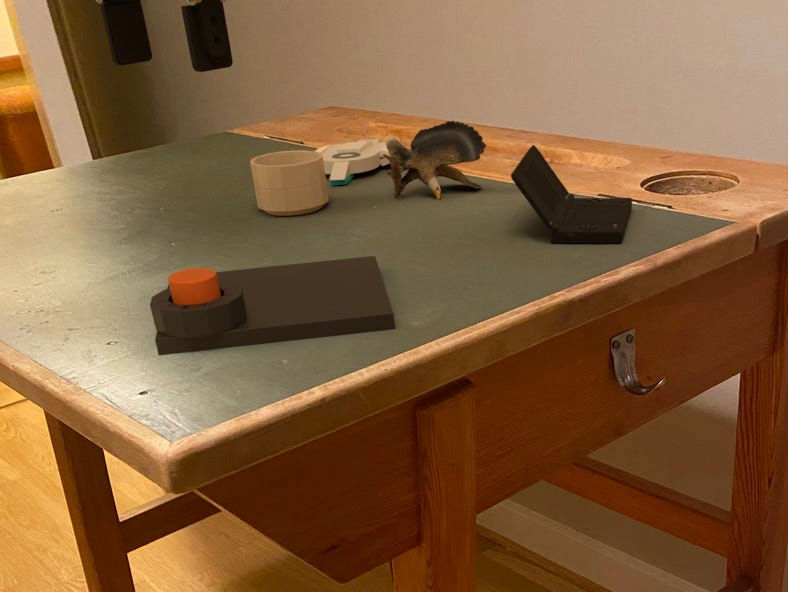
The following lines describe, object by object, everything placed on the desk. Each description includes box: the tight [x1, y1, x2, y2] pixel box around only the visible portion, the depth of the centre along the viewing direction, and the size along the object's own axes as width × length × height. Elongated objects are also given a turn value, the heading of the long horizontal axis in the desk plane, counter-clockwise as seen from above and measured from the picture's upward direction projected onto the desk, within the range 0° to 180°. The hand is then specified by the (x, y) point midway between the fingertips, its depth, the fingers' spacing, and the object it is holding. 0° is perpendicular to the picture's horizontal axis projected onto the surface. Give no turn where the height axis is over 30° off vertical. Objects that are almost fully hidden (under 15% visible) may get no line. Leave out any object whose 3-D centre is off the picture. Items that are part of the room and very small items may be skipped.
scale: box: [149, 255, 396, 356], centre depth 74 cm, size 16×15×3 cm
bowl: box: [249, 149, 329, 217], centre depth 97 cm, size 7×7×4 cm
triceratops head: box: [383, 120, 487, 201], centre depth 99 cm, size 8×7×9 cm
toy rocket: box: [315, 138, 391, 186], centre depth 111 cm, size 16×10×2 cm, turn 172°
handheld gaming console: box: [510, 144, 633, 245], centre depth 87 cm, size 12×7×10 cm
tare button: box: [167, 267, 221, 305], centre depth 68 cm, size 3×3×2 cm
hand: (172, 65), depth 75 cm, fingers open, 9 cm apart
